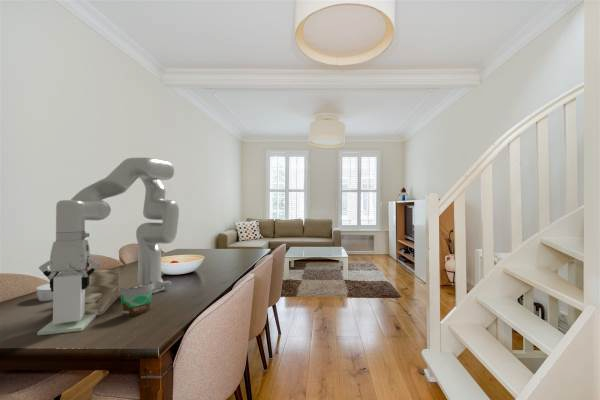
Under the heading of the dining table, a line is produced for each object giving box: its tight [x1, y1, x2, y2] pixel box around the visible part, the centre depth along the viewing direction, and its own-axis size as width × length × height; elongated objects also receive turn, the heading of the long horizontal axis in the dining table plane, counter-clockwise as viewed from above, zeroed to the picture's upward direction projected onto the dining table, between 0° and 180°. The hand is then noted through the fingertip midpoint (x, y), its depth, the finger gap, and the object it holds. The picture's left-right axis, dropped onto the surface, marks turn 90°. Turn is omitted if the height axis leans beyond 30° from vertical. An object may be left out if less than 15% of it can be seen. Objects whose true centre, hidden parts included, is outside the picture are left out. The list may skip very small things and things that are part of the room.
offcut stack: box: [85, 293, 102, 304], centre depth 107 cm, size 10×7×6 cm, turn 107°
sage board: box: [37, 314, 97, 336], centre depth 95 cm, size 12×12×1 cm
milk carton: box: [52, 264, 85, 324], centre depth 95 cm, size 7×7×19 cm
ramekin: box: [35, 282, 53, 302], centre depth 122 cm, size 11×11×5 cm
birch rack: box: [84, 269, 120, 316], centre depth 111 cm, size 14×19×12 cm
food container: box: [118, 281, 154, 317], centre depth 107 cm, size 12×6×10 cm, turn 148°
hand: (69, 289), depth 95 cm, fingers closed on milk carton, 7 cm apart
